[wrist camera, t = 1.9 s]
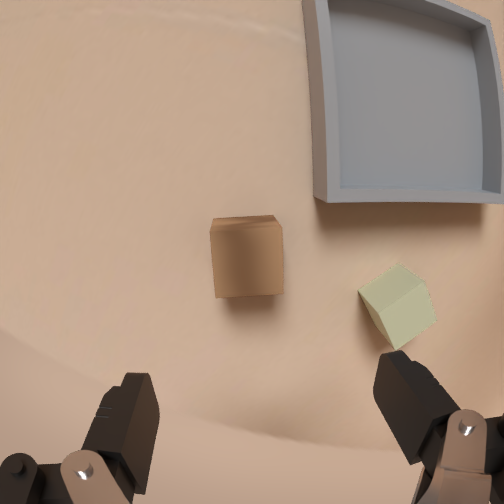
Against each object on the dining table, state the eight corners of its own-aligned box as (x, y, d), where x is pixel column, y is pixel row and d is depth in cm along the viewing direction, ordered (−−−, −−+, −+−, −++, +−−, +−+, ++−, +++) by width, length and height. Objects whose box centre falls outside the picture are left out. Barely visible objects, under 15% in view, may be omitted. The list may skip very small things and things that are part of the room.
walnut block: (272, 214, 27) (282, 227, 22) (274, 270, 28) (283, 293, 23) (213, 218, 27) (209, 231, 22) (218, 274, 28) (215, 298, 23)
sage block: (398, 262, 29) (424, 280, 24) (412, 299, 30) (437, 320, 26) (357, 289, 29) (378, 313, 25) (375, 325, 31) (395, 350, 26)
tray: (468, 28, 22) (489, 20, 18) (481, 197, 27) (505, 204, 24) (300, -13, 21) (310, -34, 17) (313, 196, 26) (327, 202, 23)
